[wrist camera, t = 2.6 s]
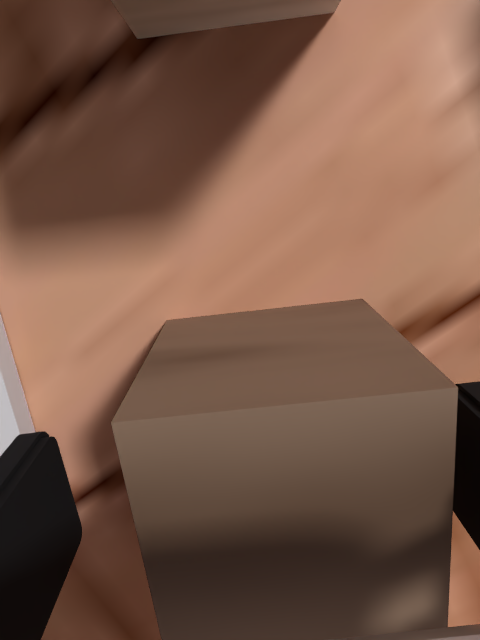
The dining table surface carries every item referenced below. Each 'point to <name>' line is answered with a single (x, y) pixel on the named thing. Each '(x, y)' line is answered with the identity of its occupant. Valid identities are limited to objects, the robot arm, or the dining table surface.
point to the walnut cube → (291, 476)
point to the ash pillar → (211, 13)
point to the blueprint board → (11, 397)
